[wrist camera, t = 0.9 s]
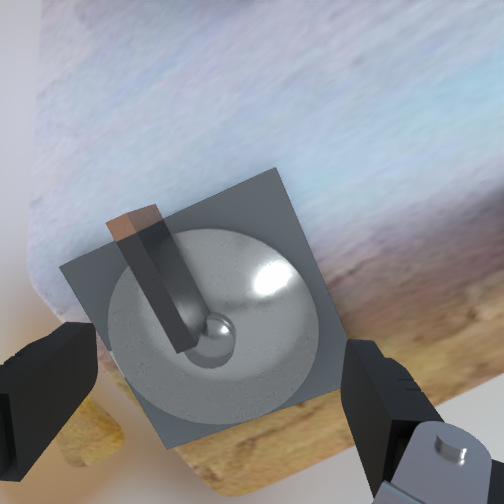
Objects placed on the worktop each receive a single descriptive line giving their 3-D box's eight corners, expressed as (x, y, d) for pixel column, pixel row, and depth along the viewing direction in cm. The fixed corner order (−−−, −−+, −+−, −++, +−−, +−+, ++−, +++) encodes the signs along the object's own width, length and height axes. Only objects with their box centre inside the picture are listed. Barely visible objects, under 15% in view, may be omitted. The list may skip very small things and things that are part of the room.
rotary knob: (346, 375, 33) (368, 434, 26) (171, 437, 36) (146, 507, 28) (252, 159, 29) (247, 156, 21) (61, 248, 31) (-2, 273, 24)
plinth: (275, 167, 31) (275, 167, 29) (360, 368, 35) (365, 380, 33) (70, 261, 34) (57, 267, 32) (172, 435, 38) (166, 451, 36)
